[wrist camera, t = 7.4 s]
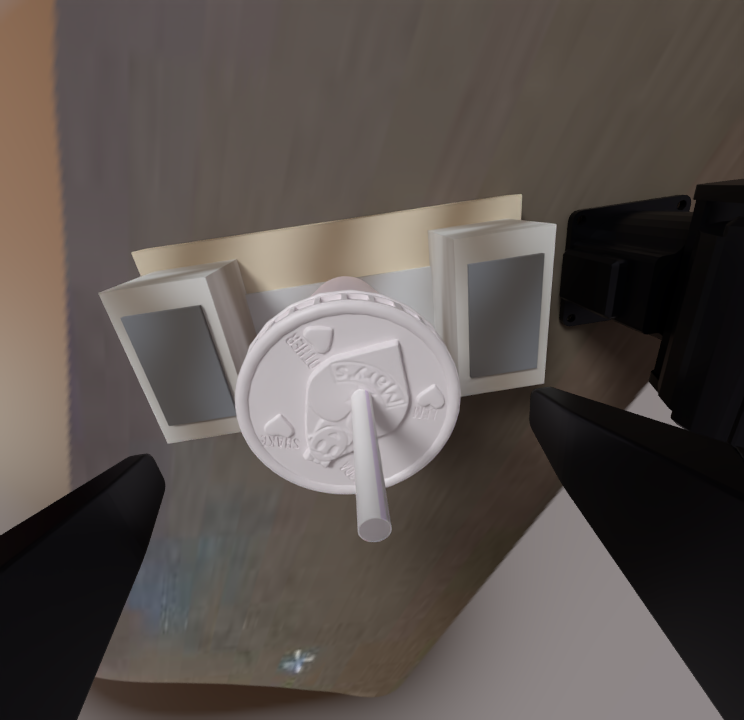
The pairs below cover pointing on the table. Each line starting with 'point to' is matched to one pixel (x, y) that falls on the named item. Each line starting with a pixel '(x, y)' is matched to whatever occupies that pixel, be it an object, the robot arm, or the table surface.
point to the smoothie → (348, 396)
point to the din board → (311, 270)
